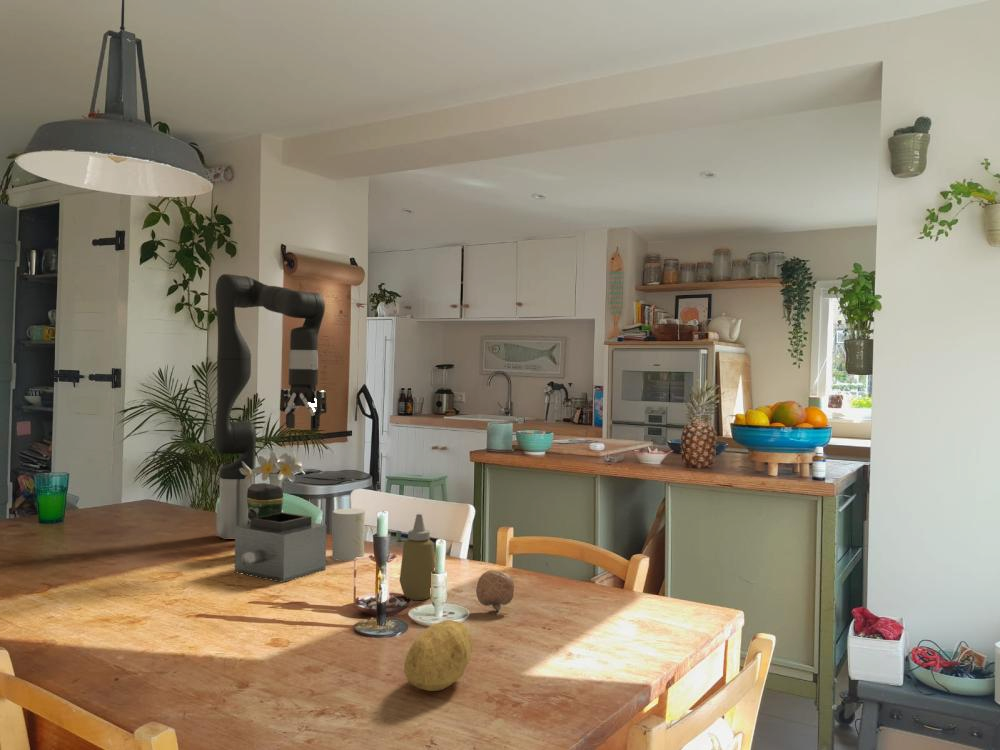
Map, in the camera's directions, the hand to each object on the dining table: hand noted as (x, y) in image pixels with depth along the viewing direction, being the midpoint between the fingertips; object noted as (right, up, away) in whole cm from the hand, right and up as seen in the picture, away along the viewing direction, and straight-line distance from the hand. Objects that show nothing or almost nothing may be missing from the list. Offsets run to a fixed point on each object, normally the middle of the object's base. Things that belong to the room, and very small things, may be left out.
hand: (302, 429), depth 207 cm
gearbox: (-2, -33, -18) cm, 38 cm away
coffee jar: (-10, -33, 0) cm, 35 cm away
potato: (+42, -35, -83) cm, 99 cm away
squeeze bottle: (+34, -34, -36) cm, 60 cm away
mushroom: (+51, -35, -44) cm, 76 cm away
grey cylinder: (+12, -34, -1) cm, 36 cm away
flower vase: (-12, -33, +16) cm, 39 cm away
